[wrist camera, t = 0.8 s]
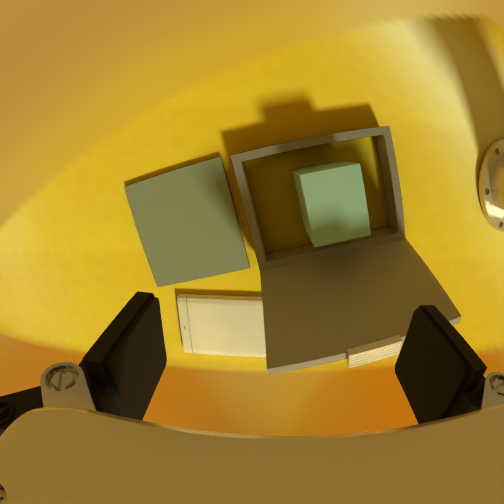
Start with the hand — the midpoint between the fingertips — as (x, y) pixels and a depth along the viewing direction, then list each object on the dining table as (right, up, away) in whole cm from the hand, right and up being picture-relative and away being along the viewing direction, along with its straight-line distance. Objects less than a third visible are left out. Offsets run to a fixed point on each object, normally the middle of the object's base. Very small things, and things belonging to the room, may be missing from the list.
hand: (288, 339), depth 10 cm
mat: (-8, +6, +21) cm, 23 cm away
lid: (+7, 0, +13) cm, 15 cm away
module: (+6, +9, +19) cm, 22 cm away
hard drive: (-4, -6, +26) cm, 26 cm away
